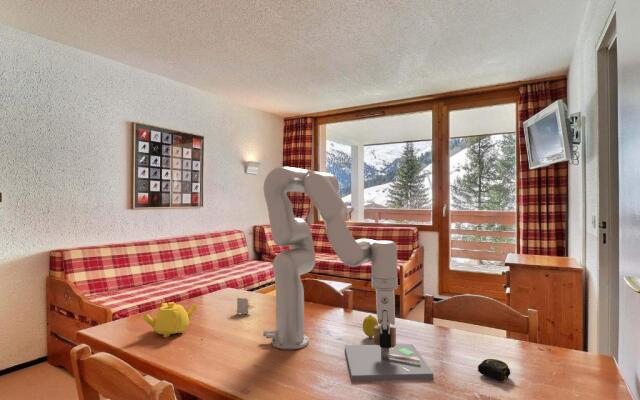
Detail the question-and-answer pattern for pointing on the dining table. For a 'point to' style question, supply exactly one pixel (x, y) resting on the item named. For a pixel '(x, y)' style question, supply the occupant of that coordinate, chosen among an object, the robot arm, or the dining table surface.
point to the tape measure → (494, 369)
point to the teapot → (170, 319)
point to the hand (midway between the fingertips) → (385, 344)
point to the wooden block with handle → (385, 351)
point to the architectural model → (243, 306)
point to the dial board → (385, 363)
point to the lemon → (369, 325)
